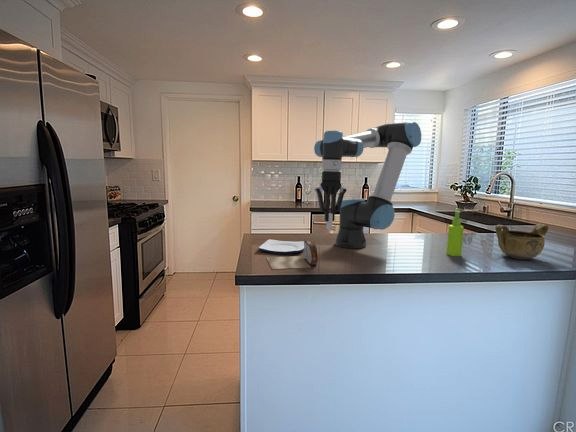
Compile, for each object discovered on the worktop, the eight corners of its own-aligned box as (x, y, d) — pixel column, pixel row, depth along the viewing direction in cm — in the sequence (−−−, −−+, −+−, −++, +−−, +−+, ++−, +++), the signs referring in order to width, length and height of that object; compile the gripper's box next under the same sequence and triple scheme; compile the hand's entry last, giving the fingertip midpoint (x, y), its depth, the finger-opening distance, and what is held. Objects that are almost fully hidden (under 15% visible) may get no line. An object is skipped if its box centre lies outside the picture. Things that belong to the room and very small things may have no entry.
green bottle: (460, 253, 154) (464, 210, 151) (461, 256, 148) (465, 212, 145) (446, 251, 156) (450, 209, 153) (446, 255, 150) (450, 211, 147)
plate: (300, 257, 145) (300, 251, 144) (255, 254, 149) (255, 248, 148) (307, 246, 164) (307, 241, 164) (267, 243, 168) (267, 238, 168)
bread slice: (318, 267, 130) (318, 246, 128) (310, 267, 129) (310, 246, 128) (309, 256, 144) (310, 237, 143) (302, 257, 144) (303, 237, 143)
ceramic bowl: (527, 252, 157) (531, 221, 155) (559, 263, 140) (564, 227, 138) (482, 253, 155) (485, 221, 153) (509, 263, 138) (513, 228, 136)
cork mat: (300, 256, 144) (300, 256, 144) (310, 267, 129) (310, 267, 129) (266, 258, 141) (266, 257, 141) (272, 269, 125) (272, 268, 125)
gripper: (318, 170, 128) (316, 231, 131) (350, 171, 131) (347, 230, 134) (313, 170, 135) (311, 227, 138) (343, 171, 138) (340, 227, 141)
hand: (329, 229), depth 136 cm, fingers closed
